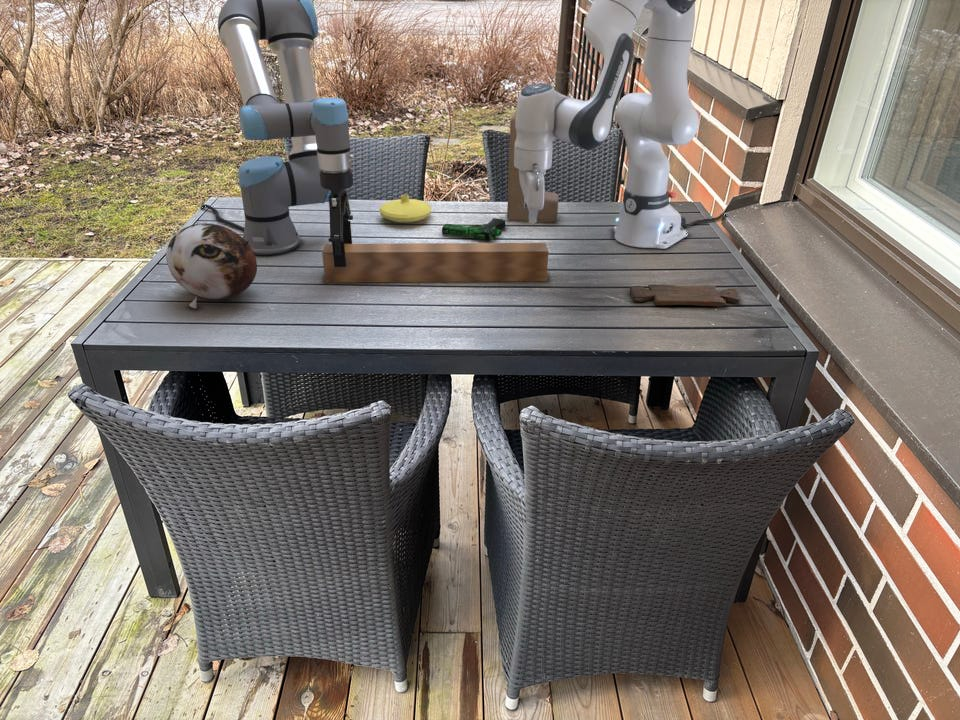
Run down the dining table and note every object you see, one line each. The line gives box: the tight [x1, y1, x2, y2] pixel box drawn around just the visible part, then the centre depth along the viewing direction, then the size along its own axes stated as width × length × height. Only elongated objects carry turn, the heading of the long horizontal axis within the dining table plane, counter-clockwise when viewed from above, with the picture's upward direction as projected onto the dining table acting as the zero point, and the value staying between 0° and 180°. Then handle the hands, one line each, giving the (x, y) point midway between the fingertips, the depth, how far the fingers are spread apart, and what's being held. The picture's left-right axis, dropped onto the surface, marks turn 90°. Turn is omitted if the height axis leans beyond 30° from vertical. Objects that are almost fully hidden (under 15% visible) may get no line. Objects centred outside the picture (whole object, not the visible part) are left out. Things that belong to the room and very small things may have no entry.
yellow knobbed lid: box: [378, 194, 433, 224], centre depth 215 cm, size 16×16×7 cm
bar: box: [321, 242, 549, 284], centre depth 178 cm, size 55×6×8 cm, turn 93°
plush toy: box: [165, 222, 258, 309], centre depth 165 cm, size 22×18×20 cm
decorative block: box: [506, 112, 560, 223], centre depth 211 cm, size 8×15×30 cm, turn 82°
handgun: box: [441, 217, 506, 242], centre depth 207 cm, size 16×3×15 cm
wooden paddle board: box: [629, 284, 740, 307], centre depth 171 cm, size 26×2×10 cm
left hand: (343, 256), depth 176 cm, fingers open, 13 cm apart
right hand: (530, 216), depth 173 cm, fingers open, 8 cm apart
